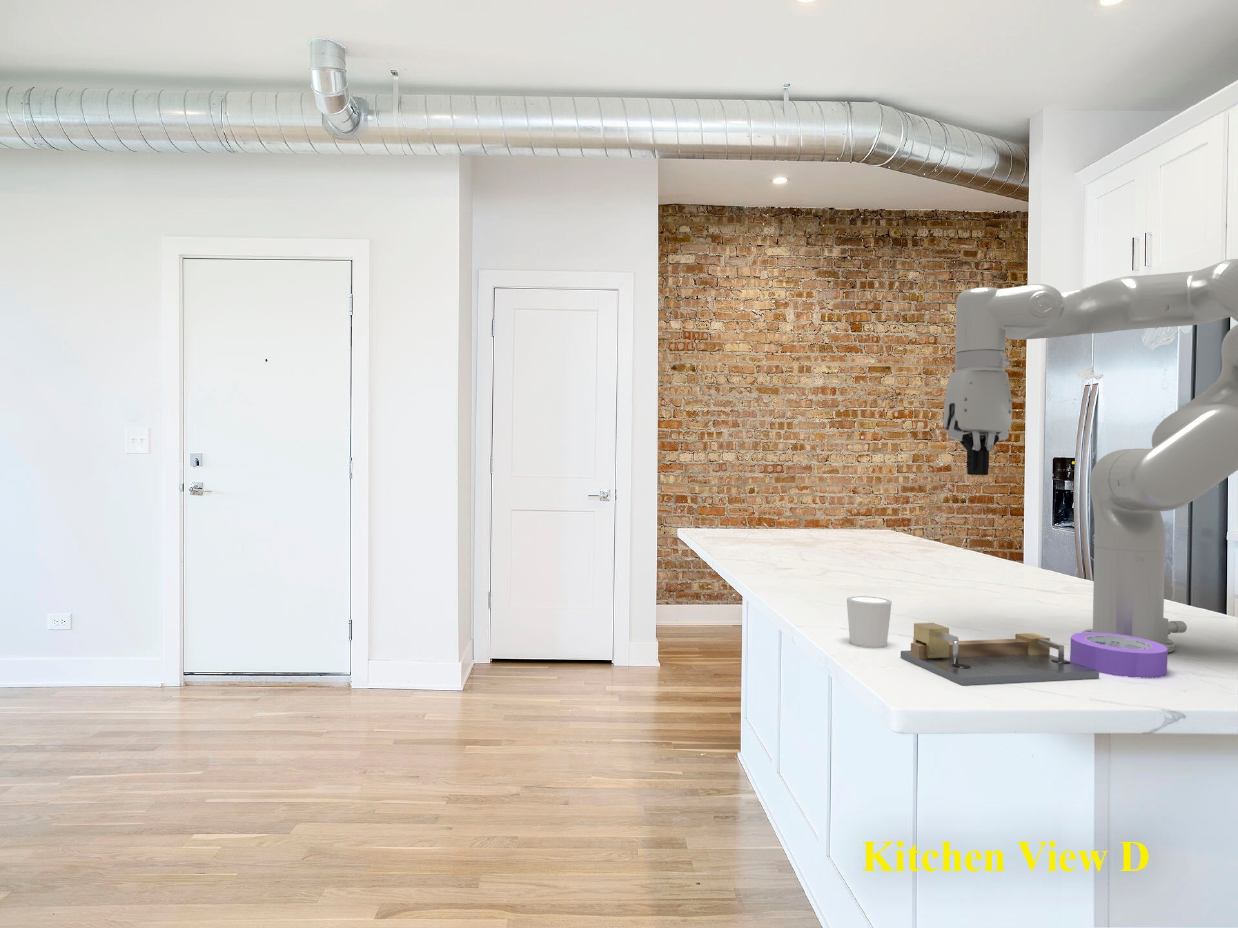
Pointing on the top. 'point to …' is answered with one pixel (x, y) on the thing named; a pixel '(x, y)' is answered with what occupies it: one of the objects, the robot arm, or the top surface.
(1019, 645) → the trammel beam
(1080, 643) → the masking tape
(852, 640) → the light grey cup
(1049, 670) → the plate
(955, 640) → the sliding head
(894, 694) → the top surface
